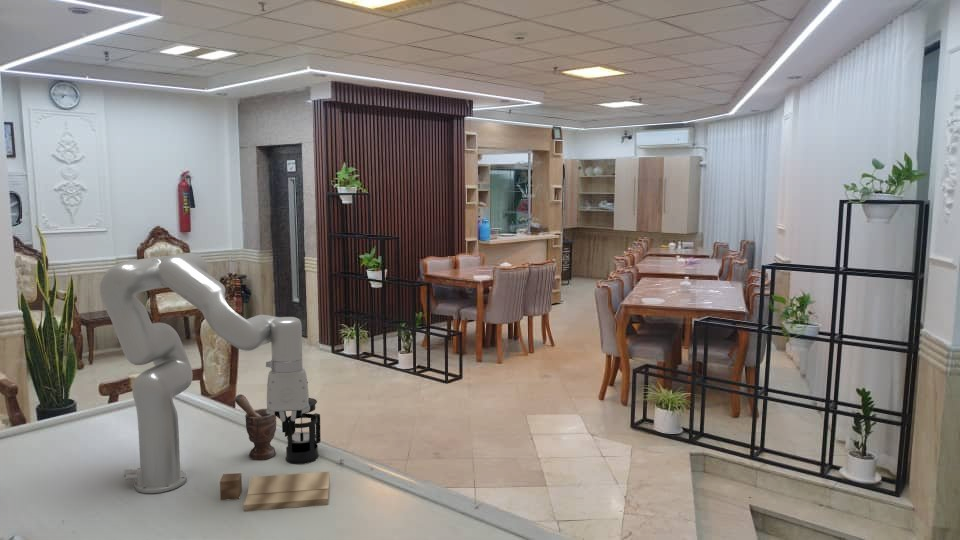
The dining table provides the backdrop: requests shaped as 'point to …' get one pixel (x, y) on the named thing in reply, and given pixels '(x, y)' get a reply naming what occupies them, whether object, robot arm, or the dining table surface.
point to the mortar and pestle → (258, 429)
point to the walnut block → (230, 486)
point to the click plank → (289, 482)
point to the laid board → (286, 499)
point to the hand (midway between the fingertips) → (288, 434)
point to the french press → (304, 439)
